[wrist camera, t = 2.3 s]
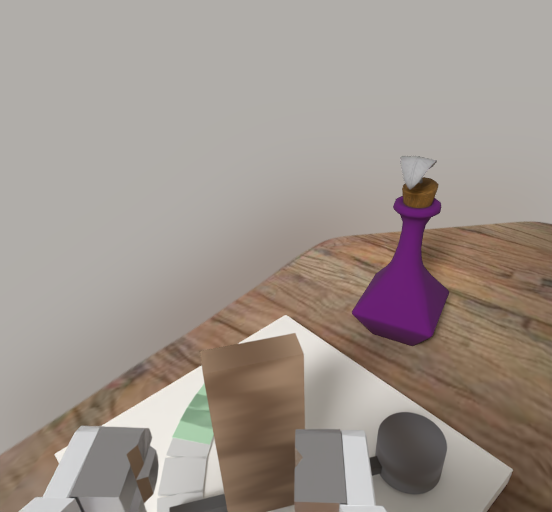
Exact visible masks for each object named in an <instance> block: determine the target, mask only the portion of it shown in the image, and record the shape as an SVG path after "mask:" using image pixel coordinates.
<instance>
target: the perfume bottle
mask: <svg viewBox="0 0 552 512" xmlns="http://www.w3.org/2000/svg"><path fill="white" fill-rule="evenodd" d="M400 162H401V168H402V173H403V179H404V181H405V184H404V185H403V188H402V190H403V196H401V197H399V198H397V199H396V201H395V203H394V206H393V208H394V210H395V211H396V212H397V213H399V214H400V215H401V218H402V221H403V226H402V232H401V236H400V240H399V244H398V247H397V249H396V252H395V255H394V257H393V259H392V261H391V262H390V263H389V264H388V265H387V266H386V267H385V268H383V269H382V270H380V271H379V272H378V273H376V275H375V276H374V278H373V279H372V281H371V282H370V284H369V286H368V287H367V289H366V290H365V292H364V293H363V295H362V297H361V298H360V300H359V301H358V303H357V304H356V306H355V308H354V309H353V311H352V314H353V315H354V316H355V317H356V318H357V319H358V320H359V321H360V322H361V323H362V324H363V325H364V326H365V327H366V328H367V329H368V330H369V331H370V332H372V333H373V334H375V335H378V336H381V337H385V338H388V339H391V340H394V341H398V342H401V343H404V344H407V345H411V346H414V345H416V344H418V343H420V342H422V341H424V340H426V339H428V338H430V337H432V335H433V333H434V330H435V328H436V325H437V323H438V320H439V317H440V315H441V312H442V310H443V307H444V304H445V302H446V299H447V297H448V294H449V291H448V290H447V289H446V288H445V287H444V286H443V285H442V284H441V283H440V282H438V281H437V280H436V279H435V278H434V277H433V276H432V275H431V274H430V273H429V272H428V271H427V269H426V268H425V267H424V266H423V262H422V257H421V245H422V239H423V232H424V229H425V225H426V223H427V222H428V221H429V220H430V218H431V217H433V216H435V215H437V214H439V213H440V210H441V203H440V202H439V201H438V200H436V199H435V198H434V197H435V194H436V192H437V188H438V184H437V182H435V181H434V180H432V179H430V178H425V177H424V178H422V177H423V176H424V174H425V173H426V171H427V170H428V169H430V168H431V167H432V166H433V165H434V164H435V163H436V162H437V161H436V160H432V159H428V158H424V157H416V156H412V157H411V156H402V157H401V161H400Z"/></svg>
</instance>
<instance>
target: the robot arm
mask: <svg viewBox="0 0 552 512" xmlns="http://www.w3.org/2000/svg"><path fill="white" fill-rule="evenodd" d="M151 440H152V435H151V432H150V429H149V428H132V427H104V426H81V427H80V428H79V429H78V430H77V431H76V432H75V433H74V435H73V437H72V439H71V441H70V443H69V445H68V447H67V449H66V451H65V453H64V455H63V457H62V459H61V461H60V463H59V465H58V467H57V469H56V471H55V473H54V475H53V477H52V479H51V481H50V483H49V485H48V487H47V489H46V491H45V493H44V495H43V497H35V498H34V499H33V500H32V501H31V502H29V503H28V504H27V505H26V506H25V507H23V508H22V509H21V510H20V511H19V512H147V511H146V508H145V505H144V503H145V502H146V501H147V500H148V499H149V498H150V497H151V496H152V495H153V494H154V490H155V486H156V483H157V477H158V468H159V465H158V455H157V452H156V450H155V449H154V448H153V447H151V446H150V444H151ZM294 508H295V512H388V511H387V510H386V509H385V507H384V506H381V505H376V502H375V494H374V487H373V480H372V473H371V466H370V459H369V451H368V444H367V437H366V434H365V432H364V430H341V431H340V429H296V430H295V483H294Z"/></svg>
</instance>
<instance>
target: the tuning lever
mask: <svg viewBox="0 0 552 512" xmlns="http://www.w3.org/2000/svg"><path fill="white" fill-rule="evenodd" d="M200 356H201V364H202V371H203V378H204V383H205V389H206V394H207V400H208V405H209V411H210V416H211V422H212V428H213V433H214V439H215V444H216V450H217V455H218V461H219V466H220V472H221V477H222V483H223V488H224V494H221V495H217V496H213V497H209V498H205V499H201V500H197V501H193V502H189V503H185V504H181V505H177V506H173V507H169V511H170V512H268V511H272V510H276V509H280V508H284V507H287V506H291V505H294V483H295V430H296V429H305V396H304V353H303V351H302V348H301V346H300V343H299V341H298V338H297V336H296V333H292V334H287V335H282V336H277V337H271V338H266V339H261V340H256V341H251V342H245V343H240V344H235V345H230V346H225V347H219V348H214V349H209V350H204V351H200ZM446 452H447V442H446V439H445V436H444V434H443V432H442V431H441V430H440V428H439V427H438V426H437V425H436V424H435V423H434V422H432V421H431V420H430V419H428V418H426V417H424V416H422V415H419V414H416V413H411V412H399V413H395V414H392V415H390V416H388V417H387V418H385V419H384V420H383V421H382V423H381V424H380V426H379V429H378V435H377V444H376V453H375V456H374V457H370V458H369V459H370V466H371V473H372V476H373V475H377V474H380V476H381V477H382V479H383V480H384V481H385V482H386V483H387V484H388V485H390V486H391V487H392V488H394V489H396V490H398V491H400V492H403V493H407V494H423V493H426V492H428V491H430V490H432V489H433V488H434V487H435V486H436V485H437V484H438V482H439V480H440V477H441V473H442V469H443V465H444V461H445V457H446Z"/></svg>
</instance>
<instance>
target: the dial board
mask: <svg viewBox="0 0 552 512" xmlns="http://www.w3.org/2000/svg"><path fill="white" fill-rule="evenodd" d="M292 333H296V336H297V338H298V341H299V343H300V346H301V348H302V351H303V353H304V396H305V429H340V431H341V430H364V432H365V434H366V437H367V444H368V451H369V458H370V457H374V456H375V453H376V444H377V435H378V429H379V426H380V424H381V423H382V421H383V420H384V419H385V418H387V417H388V416H390V415H392V414H395V413H399V412H411V413H416V414H419V415H422V416H424V417H426V418H428V419H430V420H431V421H432V422H434V423H435V424H436V425H437V426H438V427H439V428H440V430H441V431H442V432H443V434H444V436H445V439H446V442H447V452H446V457H445V461H444V465H443V469H442V473H441V477H440V480H439V482H438V484H437V485H436V486H435V487H434V488H433V489H432V490H430V491H428V492H426V493H423V494H407V493H403V492H400V491H398V490H396V489H394V488H392V487H391V486H390V485H388V484H387V483H386V482H385V481H384V480H383V479H382V477H381V476H380V474H377V475H373V476H372V480H373V487H374V494H375V502H376V505H381V506H384V507H385V509H386V510H387V511H388V512H487V511H488V509H489V508H490V506H491V505H492V504H493V502H494V501H495V500H496V498H497V497H498V496H499V494H500V493H501V492H502V490H503V489H504V487H505V486H506V485H507V483H508V482H509V479H510V476H511V474H512V471H513V469H512V468H510V467H509V466H507V465H506V464H504V463H503V462H501V461H500V460H498V459H497V458H495V457H494V456H492V455H491V454H489V453H488V452H487V451H485V450H484V449H482V448H481V447H479V446H478V445H476V444H475V443H473V442H472V441H470V440H469V439H467V438H466V437H465V436H463V435H462V434H460V433H459V432H457V431H456V430H454V429H453V428H451V427H450V426H448V425H447V424H445V423H444V422H442V421H441V420H440V419H438V418H437V417H435V416H434V415H432V414H431V413H429V412H428V411H426V410H425V409H423V408H422V407H420V406H419V405H417V404H416V403H415V402H413V401H412V400H410V399H409V398H407V397H406V396H404V395H403V394H401V393H400V392H398V391H397V390H395V389H394V388H393V387H391V386H390V385H388V384H387V383H385V382H384V381H382V380H381V379H379V378H378V377H376V376H375V375H373V374H372V373H370V372H369V371H368V370H366V369H365V368H363V367H362V366H360V365H359V364H357V363H356V362H354V361H353V360H351V359H350V358H348V357H347V356H346V355H344V354H343V353H341V352H340V351H338V350H337V349H335V348H334V347H332V346H331V345H329V344H328V343H326V342H325V341H323V340H322V339H321V338H319V337H318V336H316V335H315V334H313V333H312V332H310V331H309V330H307V329H306V328H304V327H303V326H301V325H300V324H299V323H297V322H296V321H294V320H293V319H291V318H290V317H288V316H287V315H284V316H283V317H281V318H280V319H278V320H276V321H275V322H273V323H271V324H270V325H268V326H266V327H265V328H263V329H261V330H260V331H258V332H256V333H255V334H253V335H251V336H250V337H248V338H246V339H245V340H243V341H241V342H240V343H245V342H251V341H256V340H261V339H266V338H271V337H277V336H282V335H287V334H292ZM240 343H238V344H240ZM102 426H104V427H132V428H149V429H150V432H151V435H152V440H151V444H150V446H151V447H153V448H154V449H155V450H156V452H157V455H158V465H159V468H158V477H157V483H156V486H155V490H154V494H153V495H152V496H151V497H150V498H149V499H148V500H147V501H146V502H145V503H144V505H145V508H146V511H147V512H170V511H169V507H173V506H177V505H181V504H185V503H189V502H193V501H197V500H201V499H205V498H209V497H213V496H217V495H221V494H224V488H223V483H222V477H221V472H220V466H219V461H218V455H217V450H216V444H215V439H214V433H213V428H212V422H211V416H210V411H209V405H208V400H207V394H206V389H205V383H204V378H203V371H202V366H200V367H198V368H197V369H195V370H193V371H192V372H190V373H188V374H187V375H185V376H183V377H182V378H180V379H178V380H177V381H175V382H173V383H172V384H170V385H168V386H167V387H165V388H163V389H162V390H160V391H158V392H157V393H155V394H153V395H152V396H150V397H149V398H147V399H145V400H144V401H142V402H140V403H139V404H137V405H135V406H134V407H132V408H130V409H129V410H127V411H125V412H124V413H122V414H120V415H119V416H117V417H115V418H114V419H112V420H110V421H109V422H107V423H105V424H104V425H102ZM67 447H68V446H67ZM67 447H66V448H64V449H62V450H61V451H59V452H57V453H56V454H55V456H56V458H57V460H58V462H59V463H60V461H61V459H62V457H63V455H64V453H65V451H66V449H67ZM268 512H295V508H294V505H291V506H287V507H284V508H280V509H276V510H272V511H268Z"/></svg>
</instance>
